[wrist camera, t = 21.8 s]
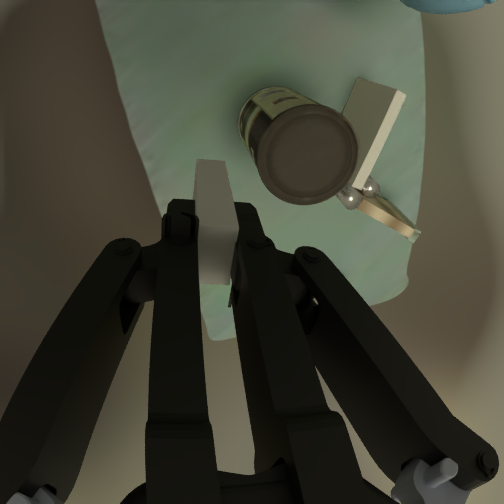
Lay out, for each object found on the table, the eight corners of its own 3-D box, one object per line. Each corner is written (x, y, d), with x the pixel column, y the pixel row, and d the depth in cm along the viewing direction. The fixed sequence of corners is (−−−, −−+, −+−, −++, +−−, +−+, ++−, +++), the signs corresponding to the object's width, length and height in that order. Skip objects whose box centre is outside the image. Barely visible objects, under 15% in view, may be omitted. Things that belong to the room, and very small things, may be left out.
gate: (329, 180, 45) (355, 210, 38) (337, 169, 44) (364, 197, 37) (385, 212, 50) (413, 242, 43) (392, 203, 49) (421, 232, 42)
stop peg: (344, 157, 44) (369, 179, 38) (356, 163, 45) (382, 185, 39) (337, 171, 46) (361, 195, 39) (350, 176, 46) (374, 200, 40)
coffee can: (272, 172, 44) (301, 224, 33) (221, 121, 39) (233, 156, 27) (327, 126, 41) (377, 162, 30) (281, 70, 36) (321, 82, 24)
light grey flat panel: (357, 77, 37) (397, 89, 29) (366, 82, 38) (406, 95, 30) (322, 157, 44) (351, 186, 36) (331, 160, 44) (361, 190, 36)
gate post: (319, 158, 44) (349, 189, 35) (332, 163, 45) (364, 195, 36) (312, 172, 45) (340, 206, 37) (326, 177, 46) (356, 211, 37)
